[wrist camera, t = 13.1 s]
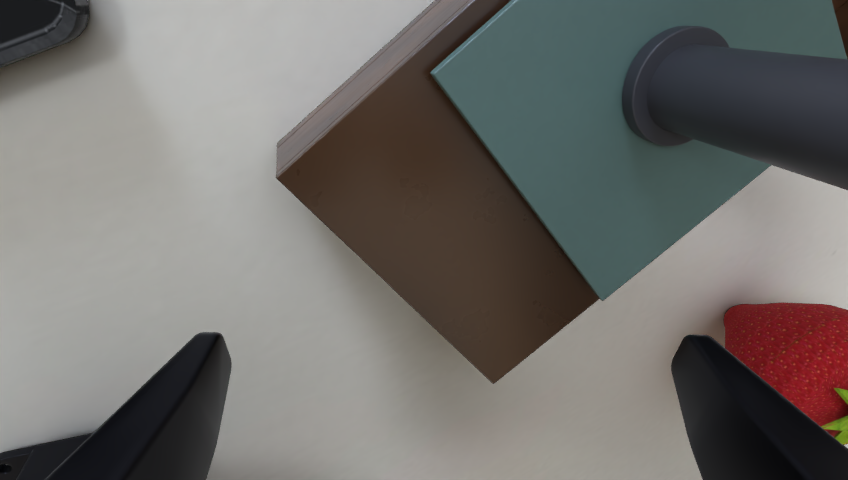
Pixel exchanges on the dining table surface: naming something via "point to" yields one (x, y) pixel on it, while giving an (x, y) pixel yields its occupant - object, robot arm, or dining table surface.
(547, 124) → the peg plate
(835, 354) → the strawberry
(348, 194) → the sliding lid box
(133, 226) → the dining table surface
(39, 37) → the phone
